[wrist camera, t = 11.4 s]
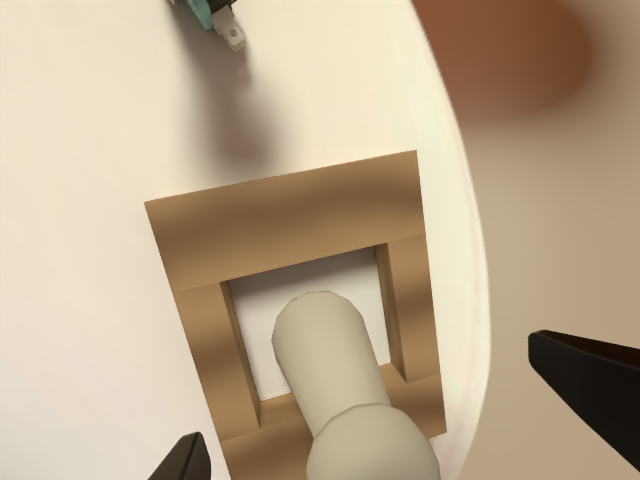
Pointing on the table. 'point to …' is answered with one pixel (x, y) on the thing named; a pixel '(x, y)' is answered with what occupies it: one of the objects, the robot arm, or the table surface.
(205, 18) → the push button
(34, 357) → the table surface
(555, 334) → the robot arm
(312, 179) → the wooden flat frame
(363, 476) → the salt shaker
